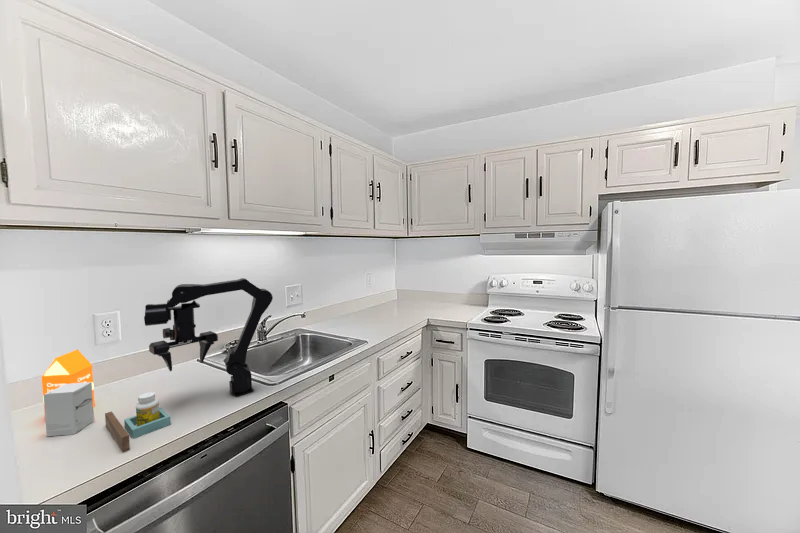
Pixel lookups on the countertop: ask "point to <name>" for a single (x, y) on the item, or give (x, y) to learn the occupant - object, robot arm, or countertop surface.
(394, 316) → the countertop surface
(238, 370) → the robot arm
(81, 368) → the orange juice
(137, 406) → the supplement bottle
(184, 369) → the countertop surface
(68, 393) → the supplement box
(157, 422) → the socket block
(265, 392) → the countertop surface
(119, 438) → the wall
